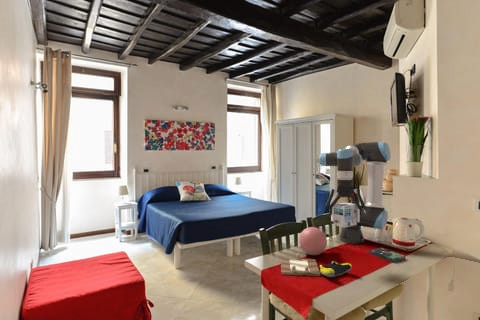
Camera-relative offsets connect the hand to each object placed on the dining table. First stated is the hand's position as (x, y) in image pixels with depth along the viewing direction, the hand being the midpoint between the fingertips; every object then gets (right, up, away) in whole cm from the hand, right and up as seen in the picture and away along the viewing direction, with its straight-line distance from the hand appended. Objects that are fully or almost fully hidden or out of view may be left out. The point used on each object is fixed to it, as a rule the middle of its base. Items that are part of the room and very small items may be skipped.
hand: (345, 221), depth 141 cm
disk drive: (+27, -23, +11) cm, 37 cm away
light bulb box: (0, -2, 0) cm, 2 cm away
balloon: (-11, -22, +17) cm, 30 cm away
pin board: (-24, -23, -3) cm, 33 cm away
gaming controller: (-9, -23, -11) cm, 27 cm away
